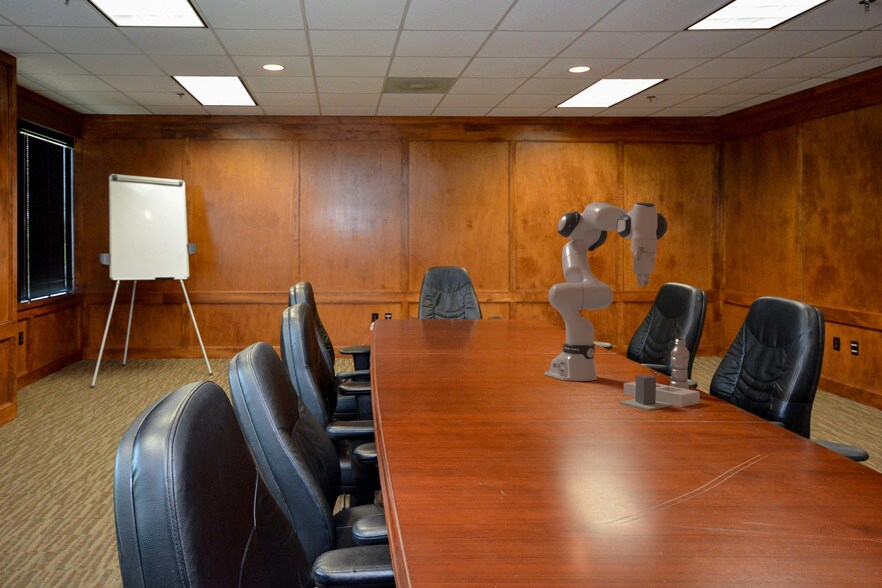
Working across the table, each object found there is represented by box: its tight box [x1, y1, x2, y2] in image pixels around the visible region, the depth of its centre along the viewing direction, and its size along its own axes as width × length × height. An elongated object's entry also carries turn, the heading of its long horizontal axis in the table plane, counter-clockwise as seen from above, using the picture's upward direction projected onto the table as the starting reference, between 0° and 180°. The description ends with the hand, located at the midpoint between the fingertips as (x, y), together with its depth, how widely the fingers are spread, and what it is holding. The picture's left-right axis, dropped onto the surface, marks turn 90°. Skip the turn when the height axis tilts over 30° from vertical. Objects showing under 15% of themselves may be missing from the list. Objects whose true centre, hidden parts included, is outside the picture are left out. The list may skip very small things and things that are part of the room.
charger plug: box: [634, 374, 657, 405], centre depth 222 cm, size 5×4×9 cm
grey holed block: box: [623, 381, 701, 408], centre depth 232 cm, size 24×10×4 cm, turn 35°
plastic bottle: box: [669, 338, 690, 390], centre depth 239 cm, size 6×7×20 cm
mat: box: [619, 398, 673, 411], centre depth 222 cm, size 12×12×1 cm
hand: (643, 285), depth 239 cm, fingers open, 8 cm apart
